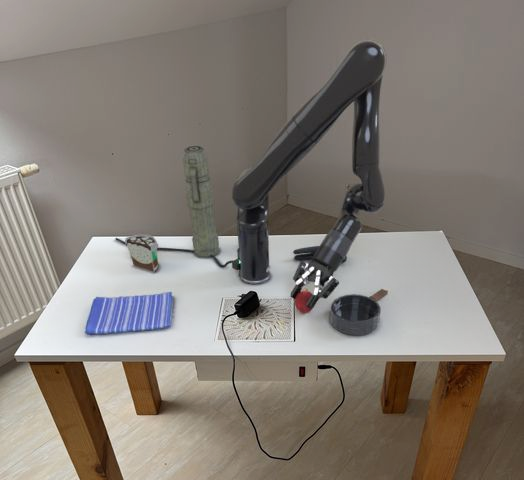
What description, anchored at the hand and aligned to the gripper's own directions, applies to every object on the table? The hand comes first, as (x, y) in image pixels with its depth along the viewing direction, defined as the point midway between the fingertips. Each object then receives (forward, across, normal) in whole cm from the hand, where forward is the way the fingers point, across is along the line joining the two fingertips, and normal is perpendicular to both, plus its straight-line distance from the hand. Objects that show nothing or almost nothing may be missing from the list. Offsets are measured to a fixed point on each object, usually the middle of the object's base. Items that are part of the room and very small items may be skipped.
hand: (300, 302), depth 133 cm
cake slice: (+16, -56, -10) cm, 59 cm away
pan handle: (-12, +12, +14) cm, 22 cm away
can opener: (-15, -19, +22) cm, 33 cm away
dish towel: (+29, -32, -23) cm, 49 cm away
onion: (+2, 0, +4) cm, 5 cm away
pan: (-3, +12, +9) cm, 16 cm away
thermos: (+2, -50, +4) cm, 50 cm away
